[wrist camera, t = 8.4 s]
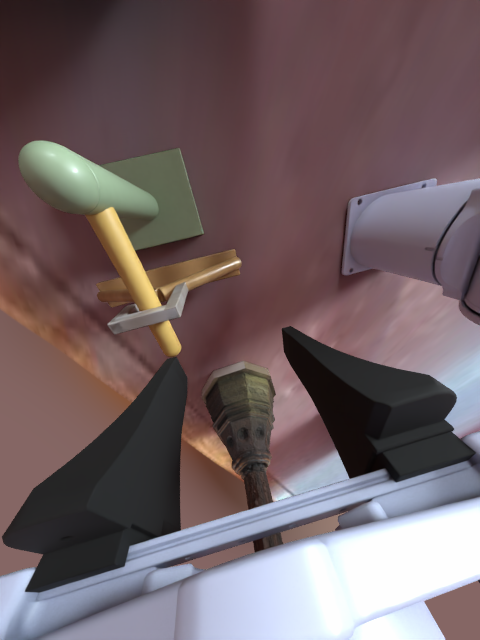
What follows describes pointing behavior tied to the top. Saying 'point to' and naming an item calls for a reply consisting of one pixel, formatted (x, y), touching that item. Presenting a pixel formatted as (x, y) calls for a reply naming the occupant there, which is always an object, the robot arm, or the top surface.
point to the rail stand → (120, 209)
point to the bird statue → (245, 428)
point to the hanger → (166, 289)
